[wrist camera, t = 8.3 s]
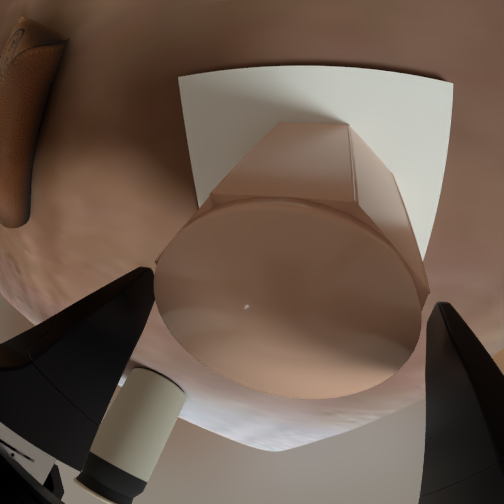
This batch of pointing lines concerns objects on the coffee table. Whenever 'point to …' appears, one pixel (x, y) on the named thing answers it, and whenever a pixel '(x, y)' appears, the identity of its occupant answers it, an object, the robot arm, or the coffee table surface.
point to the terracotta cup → (298, 269)
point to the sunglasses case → (23, 111)
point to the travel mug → (131, 437)
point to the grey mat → (324, 111)
